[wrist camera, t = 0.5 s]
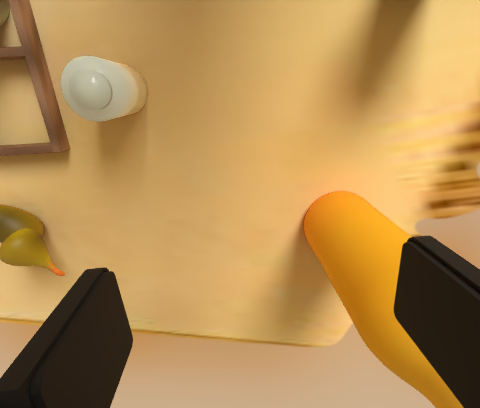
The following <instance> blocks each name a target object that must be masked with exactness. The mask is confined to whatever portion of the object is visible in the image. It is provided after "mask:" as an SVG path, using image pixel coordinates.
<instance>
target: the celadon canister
mask: <svg viewBox="0 0 480 408" xmlns="http://www.w3.org/2000/svg"><path fill="white" fill-rule="evenodd" d="M61 89H62V93H63V96H64V98H65V101H66V102H67V104H68V105H69V107H70V108H71V109H72V110H73V111H74V112H75V113H76V114H78V115H79V116H81V117H83V118H84V119H87V120H90V121H95V122H102V121H107V120H110V119H114V118H118V117H122V116H126V115H130V114H133V113H136V112H138V111H139V110H141V109H142V108H143V106H144V105H145V103H146V100H147V96H148V90H147V85H146V82H145V80H144V78H143V77H142V75H141V74H140V73H139V72H138V71H137V70H136V69H134V68H133V67H131V66H129V65H125V64H122V63H118V62H114V61H110V60H106V59H102V58H98V57H94V56H80V57H77V58H75V59H73V60H71V61H70V62H69V63H68V64H67V65H66V67H65V68H64V70H63V73H62V76H61Z"/></svg>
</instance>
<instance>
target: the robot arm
mask: <svg viewBox="0 0 480 408" xmlns="http://www.w3.org/2000/svg"><path fill="white" fill-rule="evenodd" d="M394 315H395V317H396V319H397V321H398V322H399V323H400V325H401V326H402V327H403V329H404V330H405V331H406V333H407V334H408V335H409V337H410V338H411V339H412V340H413V342H414V343H415V344H416V346H417V347H418V348H419V350H420V351H421V352H422V354H423V355H424V356H425V358H426V359H427V360H428V361H429V363H430V364H431V365H432V367H433V368H434V369H435V371H436V372H437V373H438V375H439V376H440V377H441V379H442V380H443V381H444V382H445V384H446V385H447V386H448V388H449V389H450V390H451V392H452V393H453V394H454V396H455V397H456V398H457V400H458V401H459V402H460V403H461V405H462V406H463V407H464V408H480V270H479V269H478V268H477V267H475V266H474V265H472V264H471V263H469V262H468V261H466V260H465V259H464V258H462V257H461V256H459V255H458V254H456V253H455V252H453V251H452V250H451V249H449V248H448V247H446V246H445V245H443V244H442V243H440V242H439V241H437V240H436V239H434V238H433V237H431V236H419V237H410V238H409V239H408V240H407V242H405V243H404V244H403V246H402V252H401V259H400V266H399V273H398V280H397V287H396V294H395V301H394ZM132 343H133V337H132V332H131V329H130V325H129V322H128V318H127V315H126V312H125V308H124V305H123V301H122V298H121V294H120V291H119V287H118V284H117V280H116V277H115V274H114V272H112V271H111V272H109V270H108V269H107V268H95V269H87V270H85V271H84V272H83V274H82V275H81V276H80V277H79V279H78V280H77V281H76V283H75V284H74V285H73V286H72V288H71V289H70V290H69V291H68V293H67V294H66V295H65V297H64V298H63V299H62V300H61V302H60V303H59V304H58V305H57V307H56V308H55V309H54V311H53V312H52V313H51V314H50V316H49V317H48V318H47V320H46V321H45V322H44V323H43V325H42V326H41V327H40V328H39V330H38V331H37V332H36V334H35V335H34V336H33V338H32V339H31V340H30V341H29V342H28V344H27V345H26V346H25V348H24V349H23V350H22V352H21V353H20V354H19V355H18V357H17V358H16V359H15V360H14V362H13V363H12V364H11V365H10V367H9V368H8V370H6V372H5V373H4V374H3V376H2V377H1V378H0V408H110V406H111V403H112V400H113V398H114V395H115V392H116V389H117V387H118V384H119V381H120V378H121V376H122V372H123V370H124V367H125V365H126V362H127V359H128V356H129V354H130V351H131V348H132Z"/></svg>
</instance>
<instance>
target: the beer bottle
mask: <svg viewBox="0 0 480 408" xmlns="http://www.w3.org/2000/svg"><path fill="white" fill-rule="evenodd" d="M304 232H305V236H306V239H307V241H308V243H309V245H310V246H311V248H312V250H313V251H314V253H315V254H316V256H317V258H318V260H319V261H320V263H321V265H322V267H323V269H324V270H325V272H326V274H327V276H328V278H329V279H330V281H331V283H332V285H333V287H334V288H335V290H336V292H337V294H338V296H339V297H340V299H341V301H342V303H343V305H344V306H345V308H346V310H347V312H348V314H349V315H350V317H351V319H352V321H353V323H354V325H355V327H356V329H357V330H358V332H359V334H360V336H361V338H362V339H363V341H364V342H365V344H366V345H367V346H368V348H369V349H370V350H371V352H372V353H373V354H374V355H375V356H376V357H377V358H378V359H379V360H380V361H381V362H382V363H383V364H384V365H385V366H386V367H387V368H388V369H389V370H391V371H392V372H393V373H395V374H396V375H397V376H399V377H400V378H401V379H402V380H404V381H405V382H407V383H408V384H409V385H411V386H412V387H414V388H415V389H416V390H418V391H419V392H420V393H422V394H423V395H424V396H425V397H426V398H427V399H428V400H429V401H430V402H431V403H432V404H433V405H434V406H435V407H436V408H464V407H463V406H462V405H461V403H460V402H459V401H458V400H457V398H456V397H455V396H454V394H453V393H452V392H451V390H450V389H449V388H448V386H447V385H446V384H445V382H444V381H443V380H442V379H441V377H440V376H439V375H438V373H437V372H436V371H435V369H434V368H433V367H432V365H431V364H430V363H429V361H428V360H427V359H426V358H425V356H424V355H423V354H422V352H421V351H420V350H419V348H418V347H417V346H416V344H415V343H414V342H413V340H412V339H411V338H410V337H409V335H408V334H407V333H406V331H405V330H404V329H403V327H402V326H401V325H400V323H399V322H398V321H397V319H396V317H395V315H394V301H395V294H396V287H397V280H398V273H399V266H400V259H401V252H402V246H403V244H404V243H405V242H407V240H408V239H409V238H410V237H411V236H410V235H409V234H407V233H406V232H405V231H404V230H402V229H401V228H400V227H398V226H397V225H396V224H395V223H393V222H392V221H391V220H390V219H388V218H387V217H386V216H384V215H383V214H382V213H381V212H379V211H378V210H377V209H376V208H374V207H373V206H372V205H371V204H370V203H369V202H367V201H366V200H365V199H364V198H362V197H360V196H359V195H357V194H354V193H351V192H346V191H336V192H332V193H328V194H326V195H324V196H322V197H320V198H319V199H318V200H316V201H315V202H314V203H313V204H312V206H311V207H310V208H309V210H308V212H307V213H306V216H305V220H304Z"/></svg>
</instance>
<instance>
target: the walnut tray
mask: <svg viewBox="0 0 480 408" xmlns="http://www.w3.org/2000/svg"><path fill="white" fill-rule="evenodd" d="M10 8H11V11H12V15H13V18H14V21H15V25H16V28H17V31H18V35H19V38H20V41H21V45H22V46H21V47H3V48H0V60H5V59H23V58H26V61H27V65H28V68H29V71H30V75H31V78H32V82H33V85H34V88H35V92H36V95H37V98H38V102H39V105H40V108H41V112H42V115H43V118H44V122H45V125H46V128H47V132H48V135H49V138H50V142H51V143H37V144H21V145H5V146H0V156H3V155H19V154H34V153H50V152H62V151H64V150H67V149H70V147H69V143H68V139H67V136H66V132H65V129H64V125H63V121H62V118H61V114H60V111H59V107H58V103H57V100H56V96H55V92H54V89H53V85H52V82H51V78H50V74H49V71H48V67H47V64H46V60H45V56H44V53H43V49H42V45H41V42H40V38H39V35H38V31H37V27H36V24H35V20H34V17H33V13H32V9H31V6H30V2H29V0H0V26H1V25H2V24H4V22H5V21H6V20H7V18H8V15H9V10H10Z"/></svg>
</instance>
